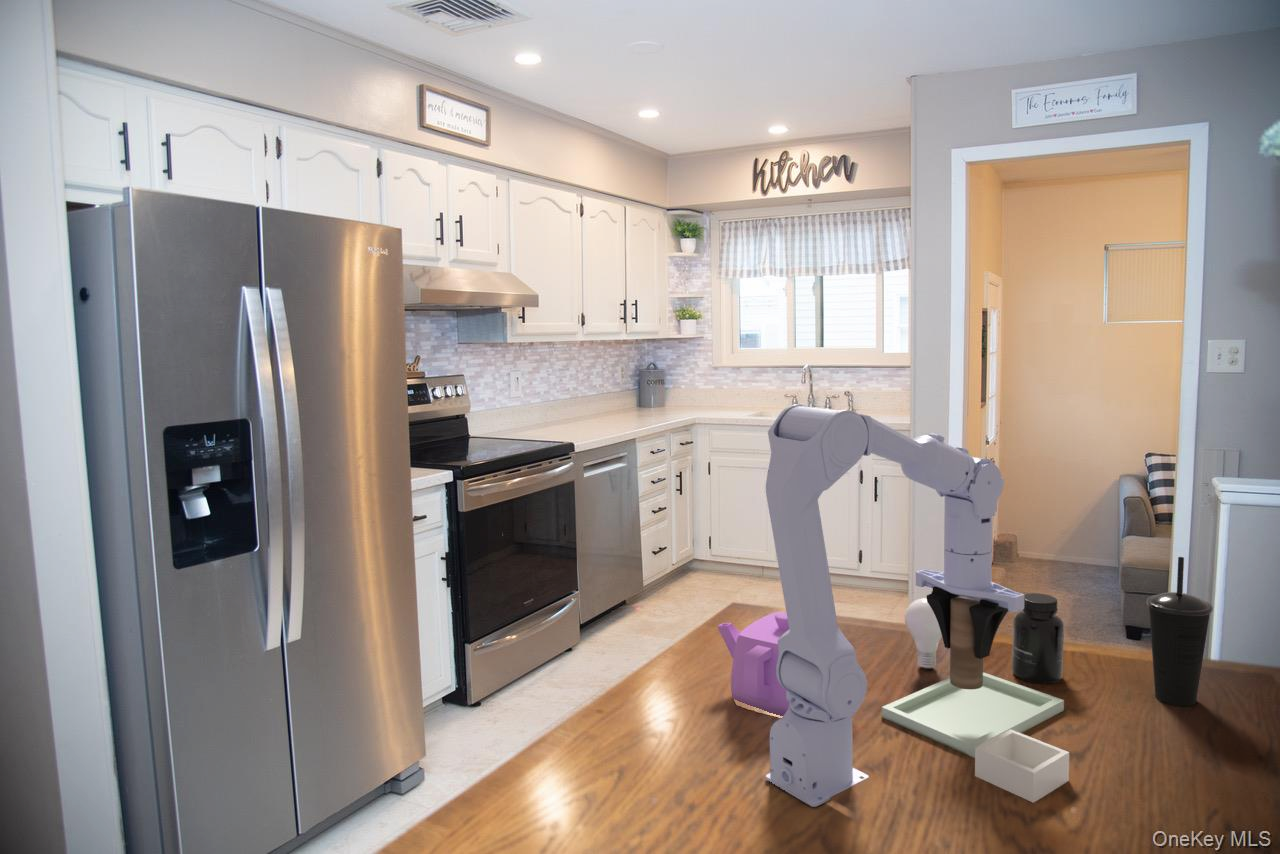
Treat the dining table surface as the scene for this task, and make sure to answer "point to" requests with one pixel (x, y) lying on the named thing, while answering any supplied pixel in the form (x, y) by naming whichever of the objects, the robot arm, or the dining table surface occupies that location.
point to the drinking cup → (1178, 642)
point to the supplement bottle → (1038, 640)
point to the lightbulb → (923, 631)
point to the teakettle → (757, 662)
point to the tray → (972, 712)
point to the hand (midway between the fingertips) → (966, 651)
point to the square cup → (1022, 765)
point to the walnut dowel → (963, 646)
